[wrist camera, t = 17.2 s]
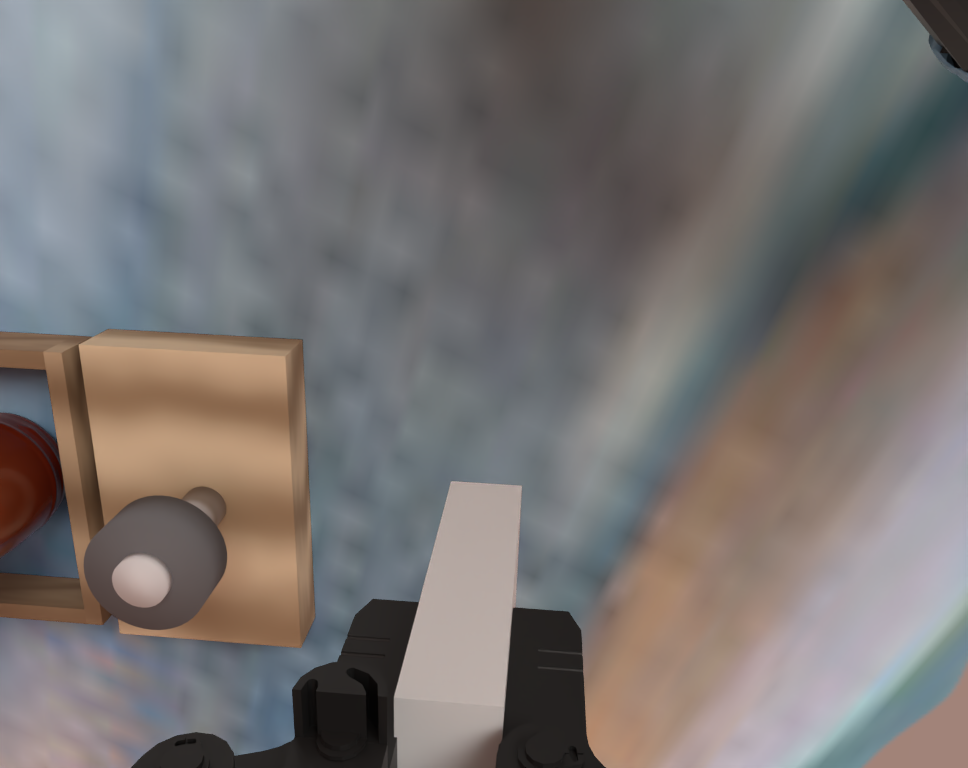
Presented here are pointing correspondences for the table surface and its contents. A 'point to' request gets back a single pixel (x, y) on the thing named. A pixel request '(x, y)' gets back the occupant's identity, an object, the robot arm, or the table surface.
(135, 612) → the wheel
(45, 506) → the mug
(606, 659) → the table surface
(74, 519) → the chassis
